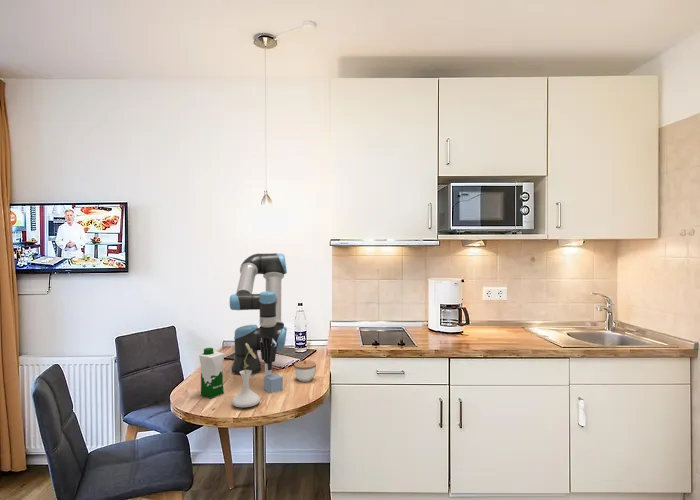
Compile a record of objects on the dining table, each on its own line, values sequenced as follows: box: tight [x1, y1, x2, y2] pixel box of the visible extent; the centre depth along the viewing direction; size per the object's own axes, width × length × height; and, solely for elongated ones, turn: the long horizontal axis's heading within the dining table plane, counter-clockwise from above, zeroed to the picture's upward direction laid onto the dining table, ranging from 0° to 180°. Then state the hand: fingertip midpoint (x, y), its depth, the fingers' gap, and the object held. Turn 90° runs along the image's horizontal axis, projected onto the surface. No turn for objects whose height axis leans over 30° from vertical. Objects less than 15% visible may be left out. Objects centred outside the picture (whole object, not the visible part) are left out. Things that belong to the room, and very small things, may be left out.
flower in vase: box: [231, 343, 261, 408], centre depth 171 cm, size 13×11×25 cm
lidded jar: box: [293, 360, 317, 383], centre depth 201 cm, size 11×11×9 cm
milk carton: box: [198, 347, 225, 399], centre depth 182 cm, size 9×9×20 cm
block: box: [263, 373, 284, 394], centre depth 187 cm, size 6×6×6 cm
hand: (268, 376), depth 190 cm, fingers closed
